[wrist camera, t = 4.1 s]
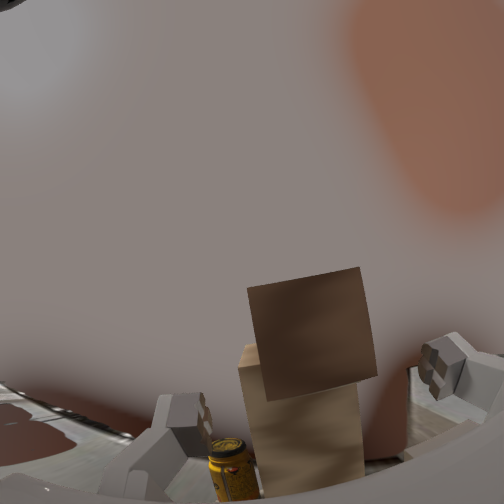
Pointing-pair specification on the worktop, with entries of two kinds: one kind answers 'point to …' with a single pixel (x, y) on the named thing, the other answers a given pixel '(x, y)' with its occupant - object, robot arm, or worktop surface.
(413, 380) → the worktop surface
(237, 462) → the condiment
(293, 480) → the stand
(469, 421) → the step
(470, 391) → the robot arm
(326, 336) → the bar
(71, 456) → the worktop surface
